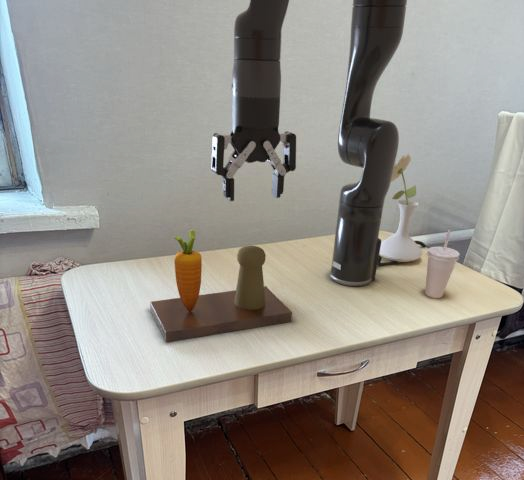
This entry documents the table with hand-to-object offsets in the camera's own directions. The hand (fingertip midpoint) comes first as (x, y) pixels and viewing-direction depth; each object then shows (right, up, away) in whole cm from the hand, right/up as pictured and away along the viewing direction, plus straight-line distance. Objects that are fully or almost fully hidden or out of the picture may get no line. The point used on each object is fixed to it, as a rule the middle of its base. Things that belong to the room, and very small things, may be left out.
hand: (253, 198), depth 87 cm
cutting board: (-6, -20, +9) cm, 23 cm away
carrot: (-12, -19, +6) cm, 23 cm away
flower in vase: (+35, -3, +41) cm, 54 cm away
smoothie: (+39, -14, +22) cm, 47 cm away
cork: (-1, -17, +10) cm, 20 cm away
